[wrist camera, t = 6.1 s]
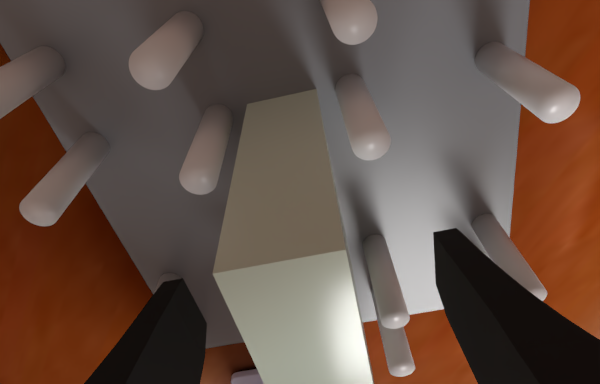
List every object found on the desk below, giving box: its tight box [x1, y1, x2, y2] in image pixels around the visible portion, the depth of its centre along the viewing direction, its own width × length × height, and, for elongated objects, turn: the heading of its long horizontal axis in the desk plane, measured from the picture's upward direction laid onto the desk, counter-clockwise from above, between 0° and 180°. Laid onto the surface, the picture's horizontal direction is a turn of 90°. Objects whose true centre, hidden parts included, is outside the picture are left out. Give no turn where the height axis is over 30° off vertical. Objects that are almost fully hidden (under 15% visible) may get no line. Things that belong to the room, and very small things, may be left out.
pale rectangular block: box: [213, 89, 374, 384], centre depth 13 cm, size 8×2×8 cm, turn 12°
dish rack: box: [0, 0, 580, 377], centre depth 15 cm, size 17×16×5 cm
